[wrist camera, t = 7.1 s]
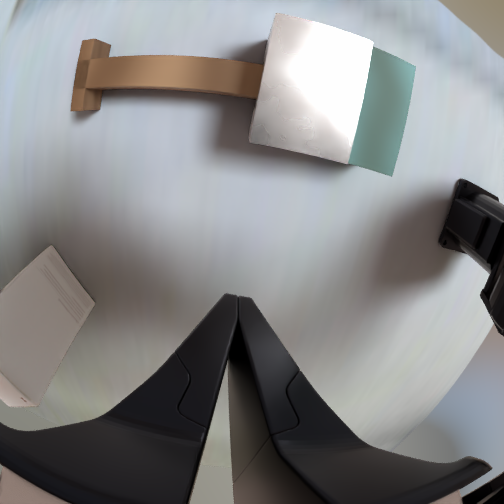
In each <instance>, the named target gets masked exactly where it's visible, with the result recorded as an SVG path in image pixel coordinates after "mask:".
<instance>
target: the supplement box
mask: <svg viewBox="0 0 504 504" xmlns="http://www.w3.org/2000/svg"><path fill="white" fill-rule="evenodd" d="M94 306H95V302H94V301H93V299H92V298H91V297H90V296H89V294H88V293H87V292H86V291H85V289H84V288H83V287H82V286H81V284H80V283H79V281H78V280H77V279H76V278H75V276H74V275H73V273H72V272H71V271H70V269H69V268H68V267H67V265H66V264H65V262H64V261H63V260H62V258H61V257H60V255H59V254H58V252H57V251H56V250H55V248H54V247H53V246H52V245H50V246H49V247H48V248H46V249H45V250H44V251H43V252H42V253H41V254H40V255H38V256H37V257H36V258H35V259H34V260H33V261H32V262H31V263H29V264H28V265H27V266H26V267H25V268H24V269H23V270H22V271H21V272H20V273H19V274H18V275H16V276H15V277H14V278H13V279H12V280H11V281H10V282H9V283H8V284H7V285H6V286H5V287H4V288H3V289H2V290H1V291H0V399H1V400H2V401H3V402H5V403H6V404H7V405H8V406H9V407H39V405H40V403H41V401H42V398H43V396H44V394H45V392H46V390H47V388H48V386H49V384H50V382H51V380H52V378H53V376H54V374H55V373H56V371H57V369H58V367H59V365H60V363H61V361H62V360H63V358H64V356H65V354H66V352H67V351H68V349H69V347H70V345H71V344H72V342H73V340H74V338H75V337H76V335H77V333H78V332H79V330H80V328H81V327H82V325H83V323H84V322H85V320H86V319H87V317H88V315H89V314H90V312H91V311H92V309H93V307H94Z"/></svg>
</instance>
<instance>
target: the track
mask: <svg viewBox="0 0 504 504" xmlns="http://www.w3.org/2000/svg"><path fill="white" fill-rule="evenodd" d="M110 48H111V45H109V44H107V43H105V42H102V41H100V40H97V39H89V40H83V41H82V45H81V49H80V54H79V59H78V64H77V69H76V75H75V81H74V87H73V95H72V103H71V111H84V110H100V106H101V98H102V91H103V90H107V89H163V90H181V91H194V92H204V93H214V94H222V95H229V96H236V97H243V98H249V99H255V100H257V96H258V91H259V86H260V81H261V76H262V71H263V66H264V65H261V64H255V63H249V62H243V61H235V60H227V59H219V58H208V57H195V56H174V55H141V56H120V57H109V52H110ZM415 69H416V66H414V65H412V64H410V63H408V62H406V61H404V60H402V59H400V58H398V57H396V56H394V55H391V54H389V53H387V52H385V51H382V50H380V49H378V48H375V47H373V46H372V51H371V58H370V63H369V69H368V75H367V80H366V85H365V90H364V95H363V100H362V105H361V110H360V114H359V119H358V123H357V128H356V132H355V136H354V141H353V145H352V149H351V153H350V157H349V161H348V163H349V164H352V165H356V166H359V167H363V168H366V169H369V170H373V171H376V172H379V173H382V174H385V175H389V176H392V175H393V171H394V168H395V164H396V160H397V157H398V153H399V149H400V145H401V141H402V137H403V132H404V128H405V124H406V119H407V114H408V109H409V104H410V99H411V94H412V88H413V82H414V76H415Z"/></svg>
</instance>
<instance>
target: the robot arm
mask: <svg viewBox="0 0 504 504" xmlns="http://www.w3.org/2000/svg"><path fill="white" fill-rule="evenodd" d="M444 240H445V241H444ZM439 245H440V246H442V247H443V248H447V249H451V250H455V251H458V252H462V253H466V254H468V255H469V256H470V257H471V258H473V259H474V260H475V261H476V262H477V263H478V264H479V265H480V266H482V267H483V268H484V269H485V270H486V271H487V272H488V273H489V274H490V275H489V278H488V280H487V282H486V285H485V287H484V289H482V291H481V293H480V297H481V299H482V300H483V302H484V304H485V306H486V308H487V310H488V312H489V314H490V316H491V318H492V320H493V322H494V324H495V326H496V328H497V330H498V332H499V333H500V334H501V335H503V336H504V205H503V204H501V203H500V202H499V198H498V197H496V196H495V195H493V194H491V193H489V192H488V191H486V190H484V189H482V188H480V187H479V186H477V185H475V184H473V183H471V182H469V181H467V180H465V179H461V180H460V182H459V185H458V188H457V192H456V195H455V198H454V201H453V204H452V207H451V210H450V213H449V215H448V218H447V221H446V224H445V226H444V229H443V231H442V234H441V236H440V239H439ZM227 361H228V393H229V420H230V443H231V462H232V478H233V483H234V484H233V495H234V504H504V472H502V473H501V474H499V475H498V476H496V477H495V478H493V479H492V480H490V481H489V482H487V483H485V484H484V485H482V486H480V487H479V488H477V489H475V490H474V491H472V492H470V493H468V494H466V495H465V496H463V497H461V495H460V491H459V489H461V488H463V487H465V486H466V485H468V484H470V483H471V482H473V481H474V480H476V479H478V478H480V477H481V476H482V475H484V474H486V473H487V472H489V471H490V470H491V469H492V467H491V466H490V465H489V464H488V463H487V462H485V461H484V460H481V459H478V458H475V457H471V456H467V457H464V458H462V459H460V460H458V461H455V462H452V463H434V462H429V461H424V460H420V459H416V458H411V457H407V456H404V455H399V454H396V453H392V452H389V451H385V450H382V449H379V448H376V447H373V446H371V445H369V444H367V443H365V442H364V441H362V440H361V439H360V438H359V437H357V436H356V435H355V434H354V433H353V432H352V431H351V430H350V428H349V427H348V426H347V425H346V424H345V423H344V422H343V421H342V420H341V419H340V418H339V417H338V416H337V415H336V414H335V412H334V411H333V410H332V409H331V408H330V407H329V406H328V405H327V404H326V402H325V401H324V400H323V399H322V398H321V397H320V395H319V394H318V393H317V392H316V391H315V389H314V388H313V387H312V385H311V384H310V383H309V381H308V380H307V379H306V377H305V376H304V374H303V373H302V371H300V369H299V367H298V366H297V364H296V363H295V362H294V360H293V359H292V357H291V356H290V354H289V353H288V351H287V350H286V348H285V347H284V346H283V344H282V343H281V341H280V340H279V338H278V337H277V335H276V334H275V332H274V331H273V329H272V328H271V326H270V325H269V324H268V322H267V321H266V319H265V318H264V316H263V315H262V313H261V312H260V310H259V309H258V307H257V306H256V304H255V303H254V301H253V300H252V298H250V297H244V296H239V297H238V296H237V295H233V294H227V293H226V294H224V295H223V296H222V297H221V299H220V300H219V301H218V302H217V303H216V304H215V305H214V307H213V308H212V309H211V310H210V311H209V312H208V314H207V315H206V316H205V317H204V318H203V319H202V321H201V322H200V323H199V324H198V325H197V326H196V327H195V329H194V330H193V331H192V332H191V333H190V334H189V336H188V337H187V338H186V339H185V340H184V341H183V342H182V344H181V345H180V346H179V347H178V348H177V349H176V351H175V353H173V354H172V355H171V356H170V357H169V358H168V360H167V361H166V362H165V363H164V364H163V365H162V366H161V367H160V368H159V369H158V370H157V371H156V372H155V373H154V374H153V375H152V376H151V377H150V378H149V379H147V380H146V381H145V382H144V383H143V384H142V385H140V386H139V387H138V388H137V389H136V390H134V391H133V392H132V393H131V394H130V395H128V396H127V397H126V398H125V399H123V400H122V401H121V402H120V403H119V404H117V405H116V406H115V407H114V408H112V409H111V410H110V411H108V412H107V413H105V414H104V415H102V416H100V417H98V418H95V419H92V420H88V421H84V422H80V423H75V424H70V425H65V426H60V427H55V428H49V429H43V430H36V431H21V430H16V429H12V428H9V427H7V426H5V425H3V424H2V423H1V422H0V464H1V465H2V466H3V469H2V472H1V475H0V504H189V503H190V500H191V496H192V492H193V489H194V485H195V481H196V477H197V474H198V470H199V466H200V463H201V459H202V455H203V451H204V448H205V444H206V440H207V436H208V433H209V429H210V425H211V421H212V418H213V414H214V410H215V406H216V403H217V399H218V395H219V391H220V387H221V384H222V380H223V376H224V372H225V369H226V365H227Z"/></svg>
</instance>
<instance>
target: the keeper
mask: <svg viewBox="0 0 504 504" xmlns="http://www.w3.org/2000/svg"><path fill="white" fill-rule="evenodd" d="M372 45H373V42H372V41H370V40H367V39H365V38H362V37H360V36H357V35H354V34H352V33H349V32H346V31H343V30H340V29H337V28H334V27H331V26H328V25H324V24H321V23H317V22H314V21H310V20H306V19H302V18H298V17H294V16H289V15H285V14H280V13H276V15H275V18H274V21H273V24H272V27H271V30H270V34H269V37H268V41H267V46H266V50H265V55H264V60H263V62H264V66H263V71H262V76H261V81H260V86H259V91H258V96H257V101H256V106H255V109H253V115H252V120H251V125H250V130H249V142H250V143H254V144H260V145H265V146H271V147H276V148H281V149H286V150H290V151H295V152H300V153H304V154H308V155H313V156H317V157H321V158H325V159H329V160H333V161H337V162H341V163H344V164H348V161H349V157H350V153H351V149H352V145H353V141H354V136H355V132H356V128H357V123H358V119H359V114H360V110H361V105H362V100H363V95H364V90H365V85H366V80H367V75H368V69H369V63H370V58H371V51H372Z"/></svg>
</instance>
